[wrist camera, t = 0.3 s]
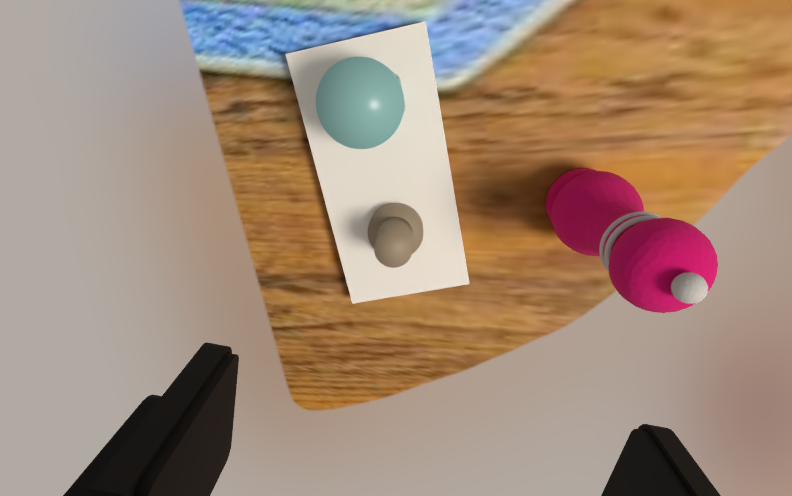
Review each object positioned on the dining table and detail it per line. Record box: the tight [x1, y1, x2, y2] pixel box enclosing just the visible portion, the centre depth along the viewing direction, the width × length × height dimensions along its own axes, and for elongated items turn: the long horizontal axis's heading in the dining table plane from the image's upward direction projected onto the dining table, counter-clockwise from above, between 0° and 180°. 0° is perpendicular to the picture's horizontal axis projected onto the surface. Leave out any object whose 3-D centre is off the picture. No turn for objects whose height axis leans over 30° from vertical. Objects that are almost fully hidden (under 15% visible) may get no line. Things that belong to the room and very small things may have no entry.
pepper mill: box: [546, 168, 718, 313], centre depth 35 cm, size 7×7×20 cm
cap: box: [316, 57, 406, 149], centre depth 37 cm, size 7×7×6 cm
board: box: [285, 21, 469, 304], centre depth 40 cm, size 24×12×7 cm, turn 12°
